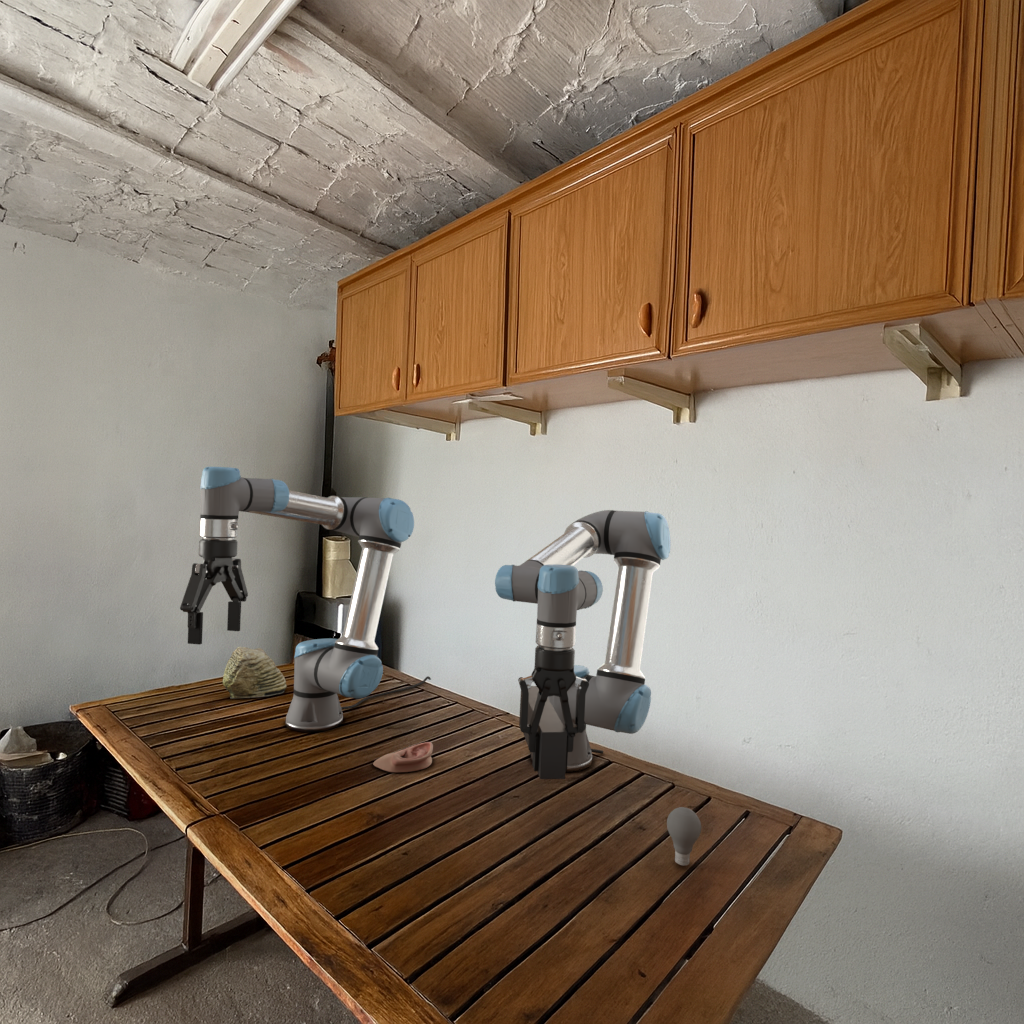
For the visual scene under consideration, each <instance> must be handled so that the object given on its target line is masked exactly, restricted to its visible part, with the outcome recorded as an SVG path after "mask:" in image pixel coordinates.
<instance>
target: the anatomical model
mask: <svg viewBox="0 0 1024 1024" xmlns="http://www.w3.org/2000/svg"><path fill="white" fill-rule="evenodd" d="M433 751H434V744H433V743H432V742H430V741H426V742H422V743H418V744H414V745H411V746H408V747H406V748H403V749H401V750H397V751H394V752H390V753H387V754H385V755H382V756H381V757H378V758H377V759H375V760H374V762H373V763H372V764H373V766H374V767H375V768H378V769H380V770H382V771H385V772H388V773H408V772H416V771H420V770H424V769H426V768H428V767H430V766H431V765H432V763H433V758H432V756H431V755H432V754H433Z"/></svg>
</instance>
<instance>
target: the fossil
mask: <svg viewBox="0 0 1024 1024" xmlns="http://www.w3.org/2000/svg"><path fill="white" fill-rule="evenodd" d="M222 676H223V677H222V685H223V687H224V688H225V690H226V691H228V693H229V698H230V699H250V698H264V697H271V696H275V695H281V694H284V693H285V691H286V689H287V687H288V686H287V680H286V678H285V676H284V674H283V673H282V672H281V669H279V668H278V667H277V665H276V663H275V662H274V660H273V659H272V658H271V657H270V656H269V655H268V654H267V653H266V652H265V650H264V649H263V648H260V647H258V648H251V647H247V646H246V647H245V646H238V647H237V648H236V649H235V650H233V651H232V653H231V656H230V657H229V659H228V660H227V663H226V666H225V668H224V671H223V675H222Z"/></svg>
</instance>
